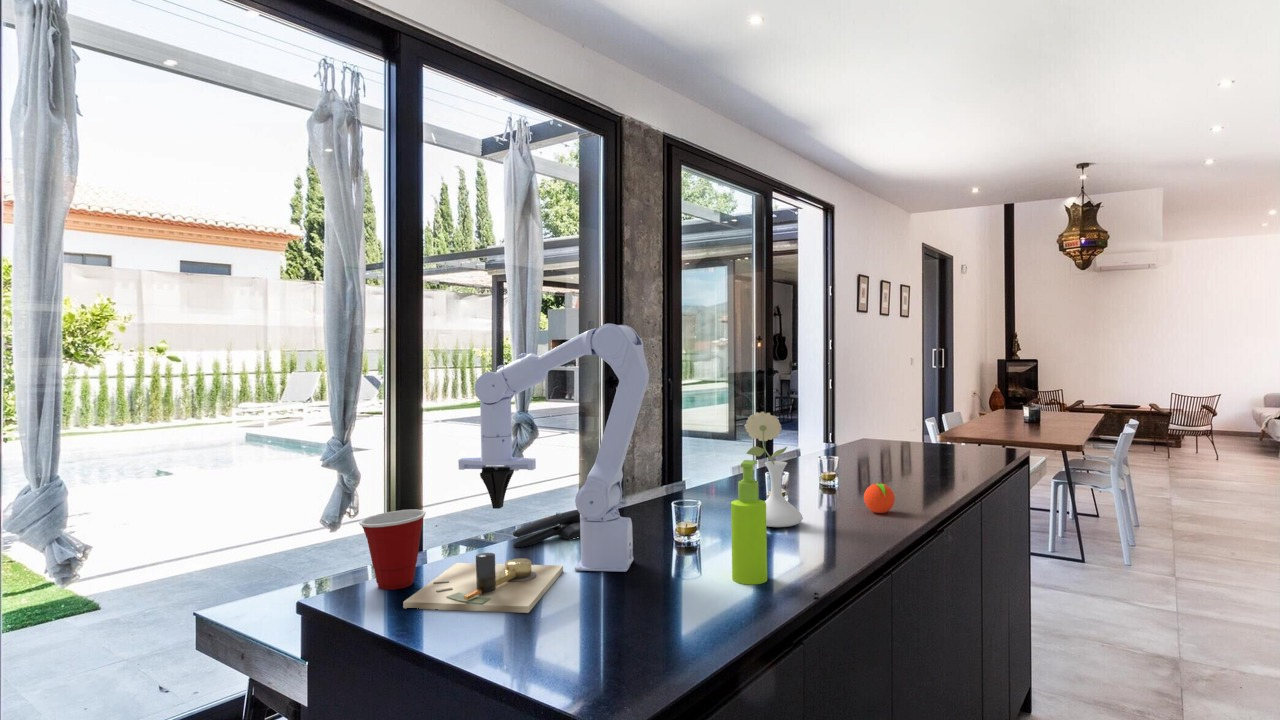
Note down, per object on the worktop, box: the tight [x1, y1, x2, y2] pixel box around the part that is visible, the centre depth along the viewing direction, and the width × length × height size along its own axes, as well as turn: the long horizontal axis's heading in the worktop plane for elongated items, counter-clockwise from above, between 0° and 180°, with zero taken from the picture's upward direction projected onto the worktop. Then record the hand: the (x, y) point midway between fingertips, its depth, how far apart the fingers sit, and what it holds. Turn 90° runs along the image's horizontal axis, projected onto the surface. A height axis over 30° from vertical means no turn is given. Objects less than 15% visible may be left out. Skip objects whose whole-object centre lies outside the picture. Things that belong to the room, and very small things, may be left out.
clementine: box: [863, 482, 896, 514], centre depth 174 cm, size 8×7×7 cm
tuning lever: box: [464, 552, 532, 600], centre depth 121 cm, size 16×4×6 cm, turn 155°
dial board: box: [402, 562, 564, 614], centre depth 124 cm, size 20×21×1 cm
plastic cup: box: [358, 509, 426, 591], centre depth 127 cm, size 11×11×12 cm
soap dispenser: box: [730, 459, 768, 586], centre depth 127 cm, size 6×7×20 cm
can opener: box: [512, 509, 580, 548], centre depth 155 cm, size 18×7×6 cm, turn 130°
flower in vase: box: [744, 411, 804, 528], centre depth 165 cm, size 13×11×25 cm
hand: (497, 507), depth 141 cm, fingers closed
